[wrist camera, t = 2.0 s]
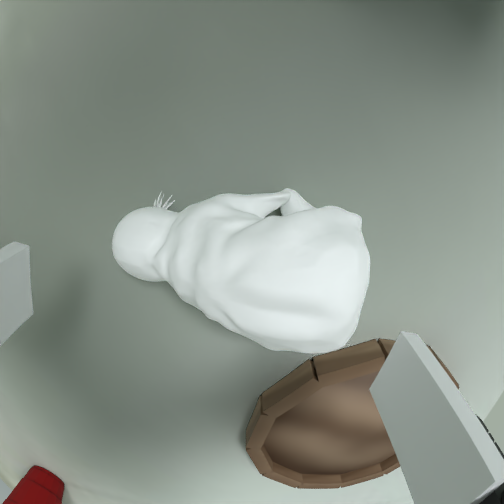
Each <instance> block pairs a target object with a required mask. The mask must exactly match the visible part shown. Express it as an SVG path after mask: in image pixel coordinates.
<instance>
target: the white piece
mask: <svg viewBox="0 0 504 504" xmlns="http://www.w3.org/2000/svg"><path fill="white" fill-rule="evenodd" d="M161 192H162V191H161ZM160 196H161V193H160V195H159V197H158V199H157V204H156V200H155V202H154V205H153V207H144V208H140V209H136V210H134V211H132V212H130V213H129V214H127V215H126V216H125V217H124V218H123V219H122V220H121V221H120V222H119V224H118V225H117V227H116V229H115V231H114V234H113V238H112V251H113V255H114V258H115V260H116V261H117V263H118V264H119V265H120V266H121V267H122V268H123V269H124V270H125V271H126V272H127V273H129V274H130V275H132V276H134V277H136V278H139V279H142V280H145V281H151V282H158V281H161V282H162V281H167V282H168V283H169V284H170V285H171V286H172V287H173V289H174V290H175V291H176V293H177V294H178V296H179V297H180V298H181V299H182V300H183V301H184V302H186V303H188V304H191V305H192V306H194V307H196V308H197V309H199V310H201V311H202V312H203V313H204V314H205V316H206V317H208V318H209V319H211V320H214V321H217V322H219V323H220V324H221V325H223V326H224V327H225V328H227V329H228V330H230V331H233V332H235V333H238V334H240V335H243V336H245V337H247V338H249V339H251V340H253V341H255V342H257V343H259V344H260V345H262V346H263V347H265V348H267V349H270V350H274V351H294V352H300V353H307V354H315V353H327V352H331V351H335V350H337V349H340V348H342V347H343V346H344V345H345V344H346V343H347V342H348V340H349V339H350V337H351V336H352V335H353V333H354V332H355V330H356V328H357V325H358V321H359V317H360V313H361V309H362V306H363V303H364V299H365V295H366V291H367V288H368V285H369V279H370V255H369V252H368V249H367V247H366V244H365V241H364V237H363V234H362V233H361V227H362V218H361V216H359V215H357V214H355V213H352V212H348V211H346V210H344V209H342V208H340V207H337V206H332V205H330V206H324V207H321V208H315V207H313V206H312V205H310V204H309V203H308V202H306V201H305V200H304V199H303V198H302V197H301V195H300V194H299V193H298V192H296V191H295V190H292V189H290V188H285V189H283V190H282V191H280V192H276V193H260V194H250V195H241V194H233V193H224V194H219V195H216V196H214V197H211V198H209V199H206V200H203V201H201V202H199V203H195V204H192V205H190V206H188V207H186V208H185V209H184V210H182V211H181V212H173V211H169V210H167V209H168V207H170V205H171V204H172V203H173V202H174V201H175V200H174V201H173V202H170V204H169V203H168V202H169V200H170V198H171V197H172V195H171V197H170V198H169V199H168V200H167V201H166V202H165V203H164V205H163V204H162V200H163V197H164V194H163V196H162V198H161V200H160V202H159V199H160ZM167 204H169V205H168V206H166V205H167ZM161 205H163V206H161ZM279 207H280V210H281V214H282V216H268V217H266V216H267V215H268V214H269V213H271V212H272V211H274V210H276V209H278V208H279ZM175 209H176V208H175ZM265 217H266V218H265Z"/></svg>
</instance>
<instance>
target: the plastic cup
mask: <svg viewBox="0 0 504 504" xmlns="http://www.w3.org/2000/svg"><path fill="white" fill-rule="evenodd" d="M63 491H64V483H63V482H62V481H61V480H60V479H59V478H58V477H57V476H56V475H54V474H53V473H51V472H50V471H48V470H46V469H44V468H42V467H39V466H33V467H32V468H31V469H30V470H29V471H28V473H27V474H26V475H25V476H24V478H22V479H21V481H20V482H19V483H18V484H17V486H16V487H15V488H14V490H13V491H12V493H11V494H10V495H9V496H8V498H7V499H6V500H5V501H4V502H3V504H62V497H63Z"/></svg>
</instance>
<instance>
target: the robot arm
mask: <svg viewBox="0 0 504 504" xmlns="http://www.w3.org/2000/svg"><path fill="white" fill-rule="evenodd" d="M33 314H34V312H33V302H32V291H31V276H30V250H29V245H25V244H22V243H19V242H16V241H14V242H12V243H10V244H8V245H6V246H4V247H3V248H1V249H0V346H1V345H2V344H3V343H4V342H5V341H6V340H7V339H8V338H9V337H10V336H11V335H12V334H13V333H14V332H15V331H16V330H17V329H18V328H19V327H20V326H21V325H22V324H23V323H24V322H25V321H26V320H27V319H28V318H29V317H30V316H32V315H33ZM369 390H370V392H371V395H372V397H373V399H374V402H375V404H376V407H377V409H378V411H379V414H380V416H381V419H382V421H383V423H384V426H385V428H386V431H387V433H388V436H389V438H390V441H391V443H392V446H393V448H394V451H395V453H396V456H397V458H398V461H399V464H400V466H401V469H402V472H403V474H404V477H405V479H406V482H407V485H408V488H409V490H410V493H411V496H412V498H413V501H414V504H504V455H503V453H502V451H501V450H500V448H499V446H498V445H497V443H496V442H495V443H494V439H493V437H492V435H491V434H490V433H488V429H487V428H486V426H485V425H484V423H483V421H482V420H481V419H480V418H479V417H478V416H477V415H476V414H475V413H474V412H473V410H472V409H471V407H470V406H469V404H468V403H467V401H466V400H465V398H464V397H463V396H462V394H461V393H460V391H459V390H458V388H457V387H456V385H455V384H454V383H453V381H452V380H451V378H450V377H449V376H448V374H447V373H446V371H445V370H444V369H443V367H442V366H441V365H440V363H439V362H438V360H437V359H436V358H435V356H434V355H433V354H432V352H431V351H430V350H429V348H428V347H427V346H426V344H425V343H424V342H423V341H422V339H421V338H420V337H419V335H418V334H417V333H411V332H404V331H401V332H400V334H399V336H398V338H397V340H396V342H395V343H394V345H393V347H392V349H391V351H390V353H389V355H388V357H387V359H386V360H385V362H384V364H383V366H382V368H381V370H380V371H379V373H378V375H377V377H376V378H375V380H374V382H373V383H372V385H371V387H370V389H369Z"/></svg>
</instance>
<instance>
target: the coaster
mask: <svg viewBox="0 0 504 504" xmlns="http://www.w3.org/2000/svg"><path fill="white" fill-rule="evenodd" d="M395 342H396V341H393V340H386V339H379V341H378V342H377V341H376V339H374V340H370V341H367V342H364V343H361V344H358V345H354V346H351V347H348V348H344V349H341V350H337V351H334V352H330V353H326V354H323V355H319V356H315V357H313V359H314V360H313V361H311V360H309V359H308V360H307V361H306V362H304V363H303V364H302V365H300V366H299V367H298V368H296V369H295V370H294V371H292V372H291V373H290V374H288V375H287V376H286V377H284V378H283V379H281V380H280V381H279V382H277V383H276V384H274V385H273V386H272V387H270V388H269V389H267V390H266V391H264V392H263V393H262V396H260V397H259V399H258V402H257V404H256V407H255V409H254V412H253V414H252V417H251V419H250V422H249V424H248V426H247V429H246V451H247V453H248V454H249V456H250V458H251V459H252V461H253V463H254V464H255V466H256V468H257V469H258V471H259V473H260V474H262V476H265V477H267V478H270V479H272V480H275V481H278V482H280V483H283V484H285V485H288V486H291V487H294V488H296V487H297V488H306V489H328V488H339V487H340V486H341V488H342V487H346V486H350V485H354V484H358V483H361V482H365V481H368V480H371V479H374V478H378V477H381V476H383V474H388V473H390V472H391V471H393V470H395V469H396V468H398V467H400V464H399V461H398V458H397V456H396V453H395V451H394V448H393V446H392V443H391V441H390V438H389V436H388V433H387V431H386V428H385V426H384V423H383V421H382V419H381V416H380V414H379V411H378V409H377V407H376V404H375V402H374V399H373V397H372V395H371V392H370V390H369V389H370V387H371V385H372V383H373V382H374V380H375V378H376V377H377V375H378V373H379V371H380V370H381V368H382V366H383V364H384V362H385V360H386V359H387V357H388V355H389V353H390V351H391V349H392V347H393V345H394V343H395ZM426 346H427V347H428V345H426ZM428 348H429V350H430V351H431V352H432V354H433V355H434V356H435V358H436V359H437V360H438V362H439V363H440V365H441V366H442V367H443V369H444V370H445V371H446V373H447V374H448V376H449V377H450V378H451V380H452V381H453V383H454V384H455V385H456V387H457V388H458V390H459V385H458V383H457V382H456V380H455V379H454V377H453V376H452V374H451V373H450V371H449V370H448V369H447V368H446V366H445V365H444V364H443V362H442V361H441V360H440V359H439V357H438V356H437V355H436V354H435V352H434V351H433V350H432V349H431V347H430V346H429V347H428Z"/></svg>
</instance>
